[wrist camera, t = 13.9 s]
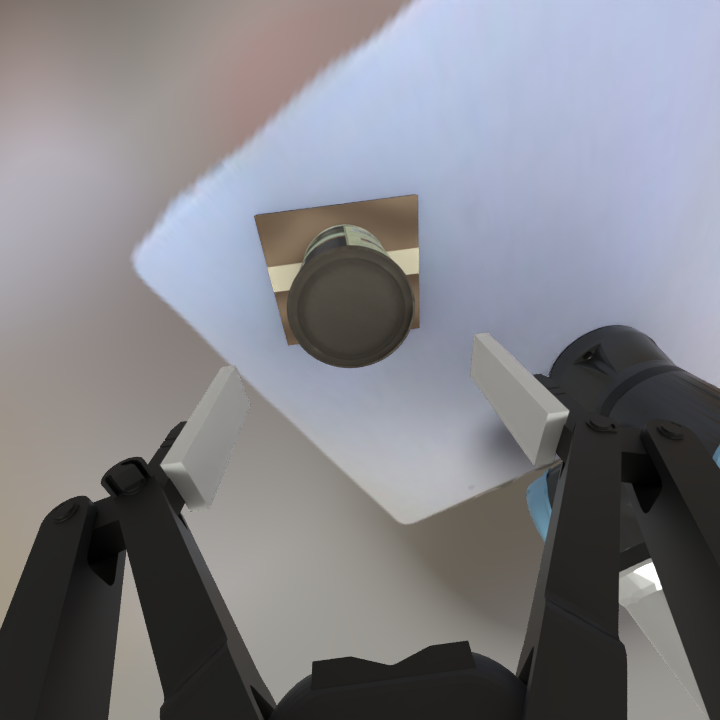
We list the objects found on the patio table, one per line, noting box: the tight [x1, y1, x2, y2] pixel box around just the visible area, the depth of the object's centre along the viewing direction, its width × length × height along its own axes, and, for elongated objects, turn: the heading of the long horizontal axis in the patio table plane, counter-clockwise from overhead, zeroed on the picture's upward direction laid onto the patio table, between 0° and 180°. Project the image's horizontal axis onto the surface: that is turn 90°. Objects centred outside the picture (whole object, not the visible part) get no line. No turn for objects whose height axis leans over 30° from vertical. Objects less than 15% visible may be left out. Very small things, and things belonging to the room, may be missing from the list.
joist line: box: [267, 247, 419, 292], centre depth 36 cm, size 3×18×1 cm, turn 96°
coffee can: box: [287, 224, 415, 368], centre depth 30 cm, size 10×10×14 cm
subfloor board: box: [254, 194, 419, 345], centre depth 37 cm, size 16×18×2 cm
